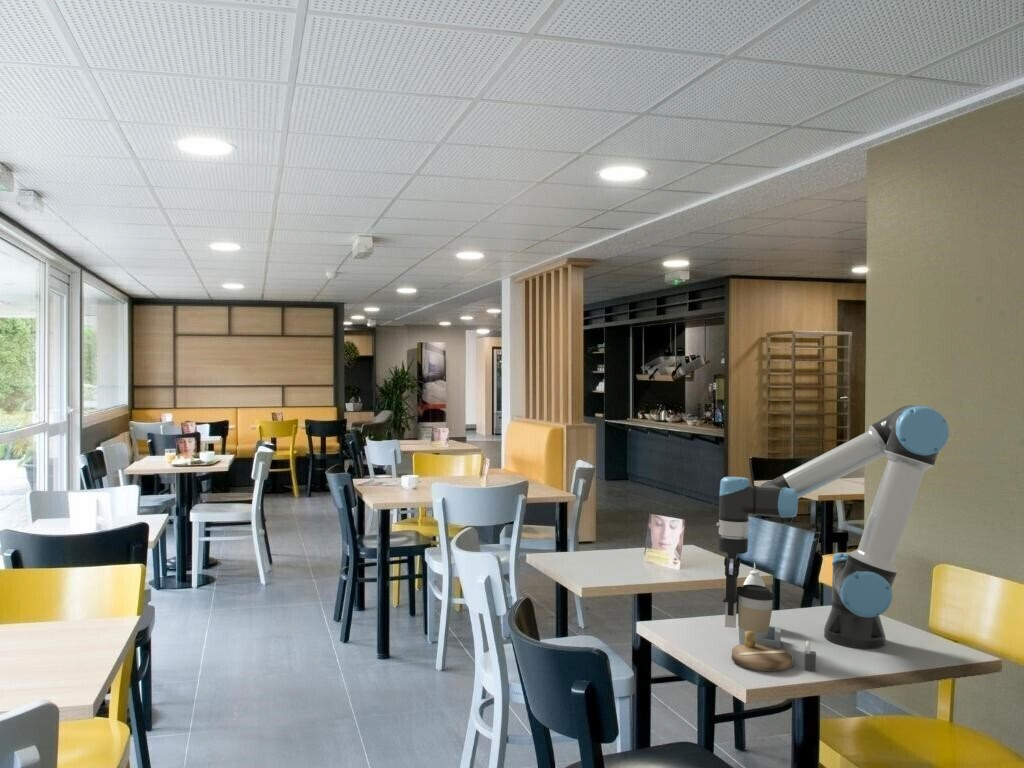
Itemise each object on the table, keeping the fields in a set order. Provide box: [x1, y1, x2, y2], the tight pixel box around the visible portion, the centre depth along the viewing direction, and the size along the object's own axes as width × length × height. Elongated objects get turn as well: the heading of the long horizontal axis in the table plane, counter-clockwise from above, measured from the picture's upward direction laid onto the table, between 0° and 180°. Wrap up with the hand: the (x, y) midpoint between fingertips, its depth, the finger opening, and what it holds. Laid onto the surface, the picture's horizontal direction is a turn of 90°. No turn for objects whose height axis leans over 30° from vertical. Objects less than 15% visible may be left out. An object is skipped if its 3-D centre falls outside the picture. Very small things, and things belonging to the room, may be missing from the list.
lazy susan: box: [731, 631, 793, 672], centre depth 202 cm, size 14×14×5 cm
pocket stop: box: [757, 625, 782, 649], centre depth 216 cm, size 6×14×4 cm, turn 162°
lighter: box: [804, 640, 817, 672], centre depth 198 cm, size 2×3×7 cm
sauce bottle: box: [742, 562, 766, 587], centre depth 234 cm, size 8×8×18 cm
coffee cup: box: [737, 584, 775, 645], centre depth 217 cm, size 9×9×15 cm
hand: (730, 626), depth 219 cm, fingers closed
